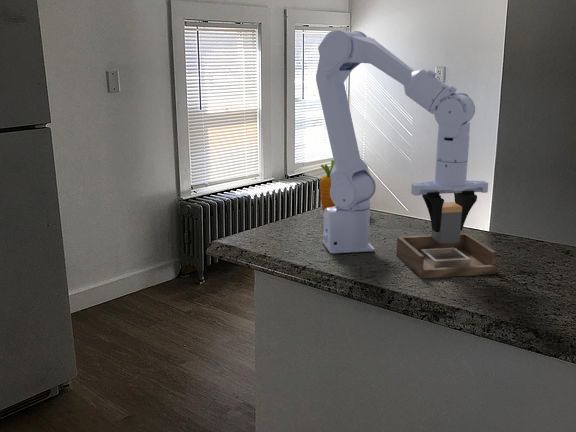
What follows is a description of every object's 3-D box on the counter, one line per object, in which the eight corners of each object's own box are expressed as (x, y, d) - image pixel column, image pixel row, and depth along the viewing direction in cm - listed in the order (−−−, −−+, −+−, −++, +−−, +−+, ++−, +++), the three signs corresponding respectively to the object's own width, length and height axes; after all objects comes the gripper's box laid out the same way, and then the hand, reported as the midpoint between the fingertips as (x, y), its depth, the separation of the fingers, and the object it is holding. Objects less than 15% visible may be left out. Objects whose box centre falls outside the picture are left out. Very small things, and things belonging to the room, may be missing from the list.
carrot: (325, 225, 147) (326, 163, 143) (315, 220, 151) (316, 160, 147) (343, 223, 149) (345, 161, 145) (332, 218, 153) (334, 158, 149)
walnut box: (420, 278, 113) (421, 257, 112) (396, 255, 125) (397, 236, 124) (496, 273, 115) (498, 253, 114) (465, 251, 128) (467, 233, 127)
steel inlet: (434, 268, 116) (434, 261, 116) (420, 256, 123) (420, 249, 123) (470, 266, 117) (470, 259, 117) (454, 254, 124) (454, 247, 124)
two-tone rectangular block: (439, 243, 117) (442, 207, 115) (431, 237, 121) (433, 202, 119) (459, 242, 118) (462, 206, 116) (450, 236, 122) (453, 201, 120)
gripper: (422, 165, 110) (418, 237, 114) (498, 162, 112) (492, 233, 116) (408, 158, 117) (405, 227, 120) (480, 156, 119) (474, 223, 123)
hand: (446, 229), depth 119 cm, fingers closed on two-tone rectangular block, 4 cm apart
